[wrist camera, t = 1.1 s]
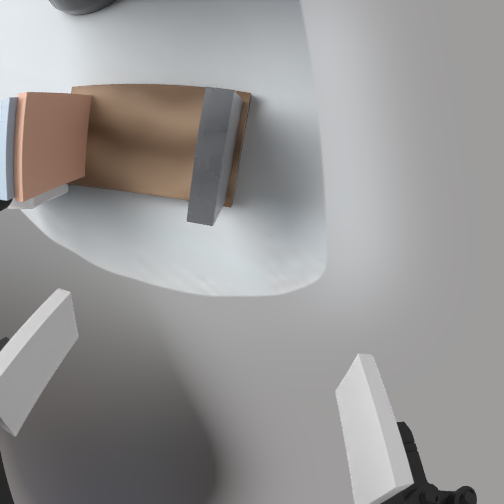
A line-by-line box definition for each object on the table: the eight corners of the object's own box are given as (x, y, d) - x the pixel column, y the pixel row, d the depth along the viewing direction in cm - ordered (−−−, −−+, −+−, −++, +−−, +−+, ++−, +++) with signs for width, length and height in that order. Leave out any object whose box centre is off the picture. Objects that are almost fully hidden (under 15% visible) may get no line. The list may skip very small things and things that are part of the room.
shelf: (78, 87, 26) (72, 86, 25) (251, 94, 27) (250, 93, 26) (71, 181, 31) (64, 183, 30) (232, 203, 32) (230, 207, 30)
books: (75, 96, 25) (2, 95, 14) (91, 95, 26) (19, 92, 15) (69, 174, 29) (0, 202, 18) (84, 176, 29) (16, 205, 18)
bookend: (223, 98, 26) (205, 86, 18) (243, 101, 26) (234, 90, 18) (208, 194, 30) (186, 221, 22) (227, 197, 30) (212, 225, 22)
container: (67, 132, 29) (-8, 146, 17) (70, 191, 32) (1, 226, 20) (28, 139, 29) (-42, 156, 17) (31, 192, 32) (-34, 224, 20)
